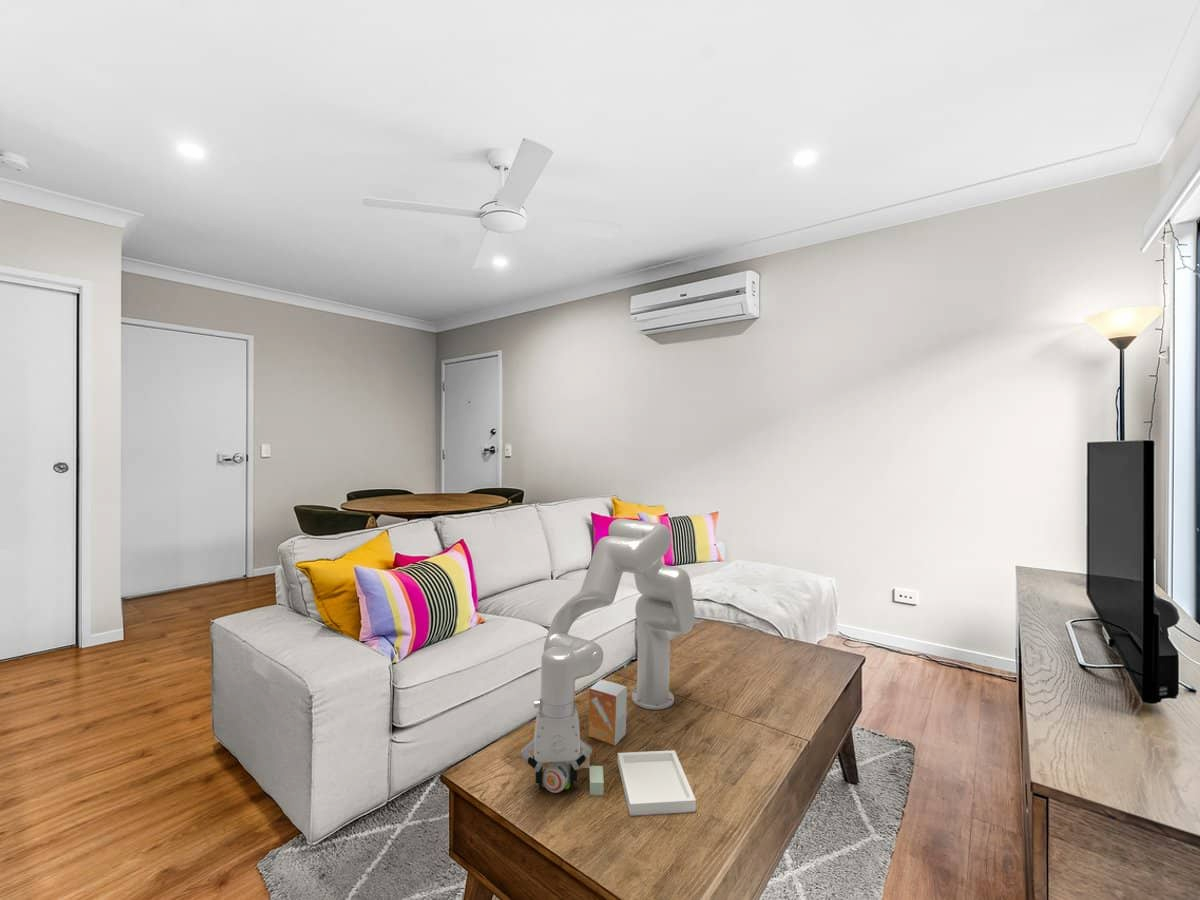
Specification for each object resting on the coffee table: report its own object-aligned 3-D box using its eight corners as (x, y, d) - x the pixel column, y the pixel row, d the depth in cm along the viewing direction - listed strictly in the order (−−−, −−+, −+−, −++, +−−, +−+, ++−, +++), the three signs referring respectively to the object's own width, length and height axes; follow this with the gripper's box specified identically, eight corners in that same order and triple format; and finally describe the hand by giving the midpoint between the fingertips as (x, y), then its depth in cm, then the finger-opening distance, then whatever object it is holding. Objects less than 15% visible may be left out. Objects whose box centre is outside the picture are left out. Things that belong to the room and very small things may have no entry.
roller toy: (564, 798, 117) (564, 772, 117) (538, 791, 120) (538, 765, 119) (572, 786, 121) (572, 761, 121) (547, 779, 124) (547, 754, 123)
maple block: (564, 770, 127) (564, 758, 127) (563, 762, 130) (563, 750, 130) (589, 769, 128) (589, 757, 128) (588, 761, 131) (588, 749, 131)
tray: (617, 763, 130) (617, 752, 130) (674, 760, 132) (674, 750, 132) (630, 815, 112) (630, 804, 112) (695, 811, 114) (696, 800, 114)
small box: (587, 737, 141) (588, 687, 141) (599, 725, 147) (600, 678, 146) (615, 746, 137) (616, 695, 137) (626, 734, 143) (627, 685, 142)
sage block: (589, 778, 125) (589, 765, 125) (602, 778, 125) (602, 765, 125) (589, 796, 119) (589, 782, 118) (603, 796, 119) (603, 782, 119)
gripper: (517, 716, 115) (516, 798, 116) (598, 712, 117) (596, 794, 118) (518, 698, 123) (517, 776, 123) (594, 696, 125) (593, 772, 125)
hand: (556, 784), depth 121 cm, fingers closed on roller toy, 6 cm apart
